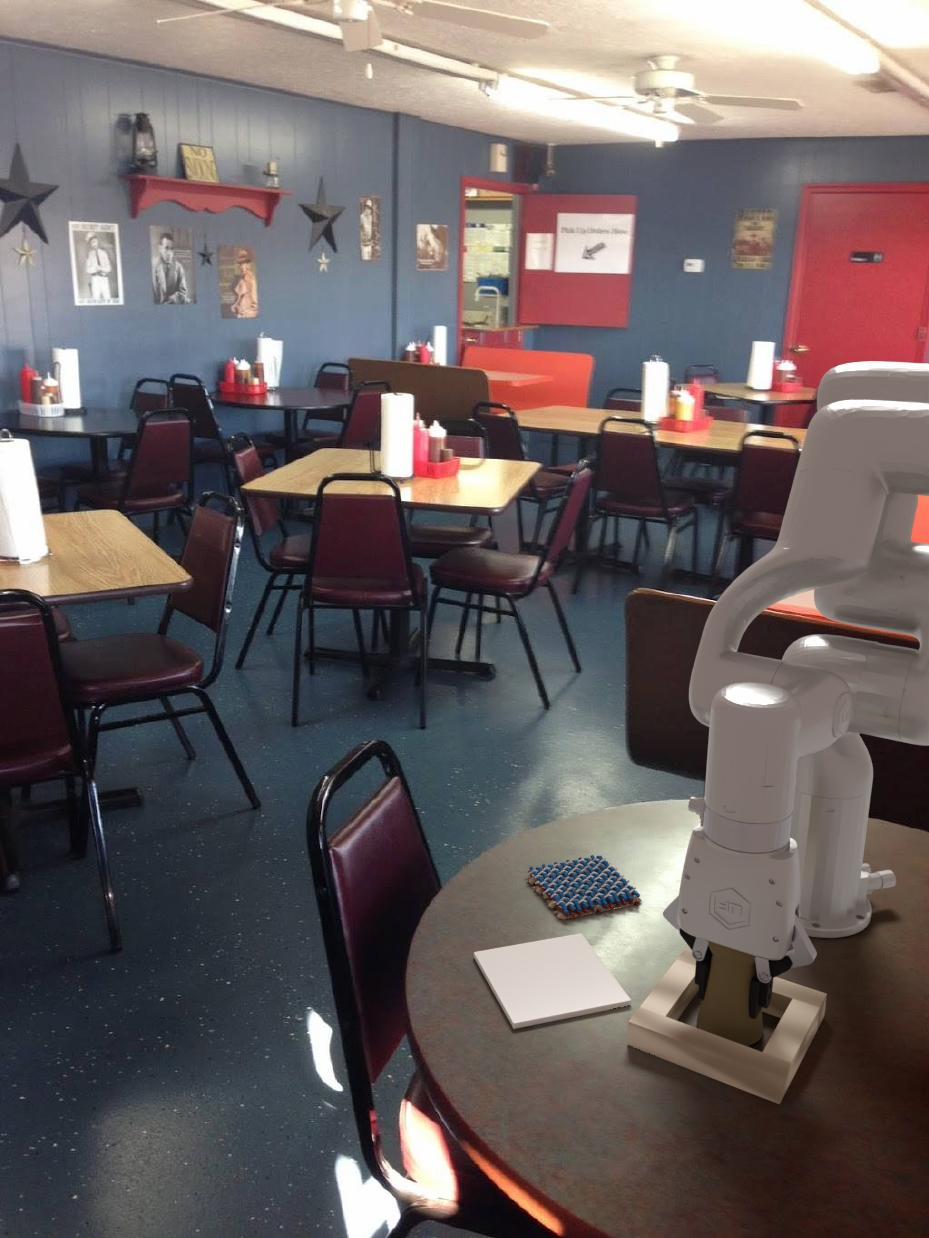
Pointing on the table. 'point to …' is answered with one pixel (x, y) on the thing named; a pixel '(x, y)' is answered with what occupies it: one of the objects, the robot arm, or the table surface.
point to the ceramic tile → (550, 980)
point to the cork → (730, 997)
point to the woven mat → (582, 887)
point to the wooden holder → (720, 1056)
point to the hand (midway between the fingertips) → (731, 999)
